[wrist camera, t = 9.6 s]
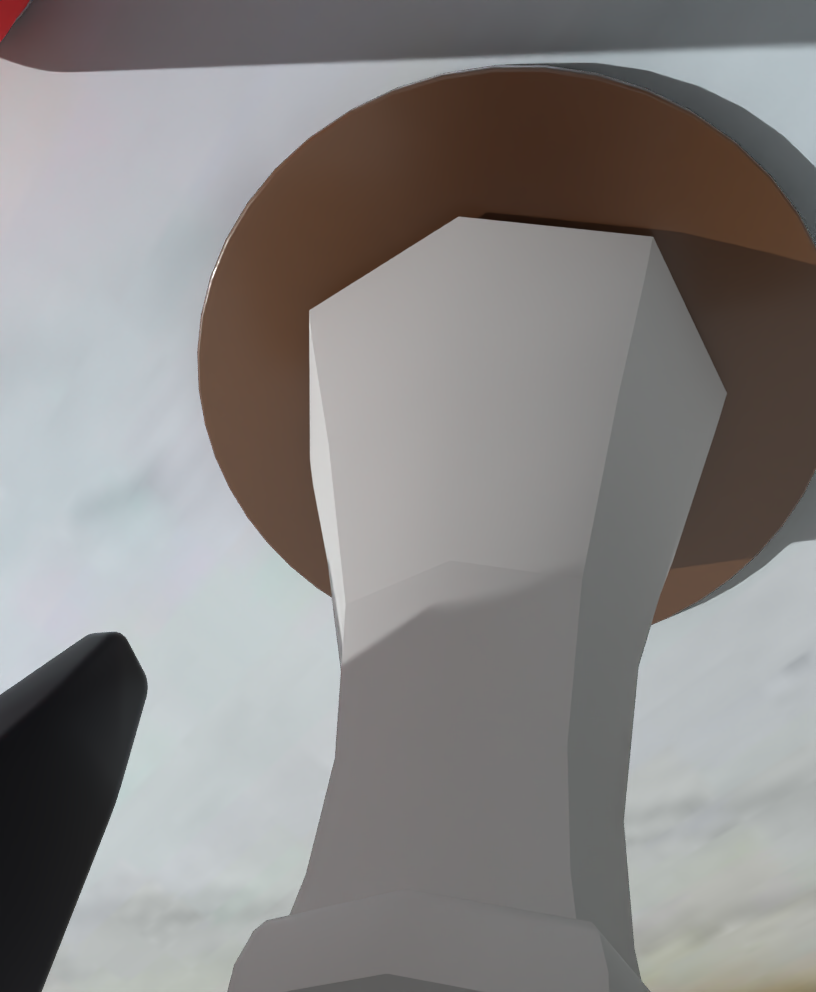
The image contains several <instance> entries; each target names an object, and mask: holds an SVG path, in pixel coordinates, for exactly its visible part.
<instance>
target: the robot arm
mask: <svg viewBox="0 0 816 992" xmlns="http://www.w3.org/2000/svg"><path fill="white" fill-rule="evenodd" d="M147 689H148V685H147V678H146V675H145V673H144V671H143V669H142V667H141V665H140V663H139V661H138V660H137V658H136V656H135V654H134V652H133V650H132V648H131V646H130V644H129V643H128V641H127V639H126V638H125V637H124V636H123V635H122V634H121V633H118V632H104V633H93V634H89V635H87V636H85V637H84V638H82V639H81V640H79V641H78V642H76V643H75V644H74V645H72V646H71V647H69V648H68V649H66V650H65V651H63V652H62V653H60V654H59V655H58V656H56V657H55V658H53V659H52V660H50V661H49V662H47V663H46V664H44V665H43V666H42V667H40V668H39V669H37V670H36V671H34V672H33V673H31V674H30V675H28V676H27V677H26V678H24V679H23V680H21V681H20V682H18V683H17V684H15V685H14V686H12V687H11V688H10V689H8V690H7V691H5V692H4V693H2V694H1V695H0V992H42V989H43V987H44V984H45V982H46V979H47V977H48V974H49V972H50V969H51V966H52V964H53V961H54V959H55V956H56V954H57V951H58V949H59V946H60V944H61V941H62V939H63V936H64V933H65V931H66V928H67V926H68V923H69V921H70V918H71V916H72V913H73V911H74V908H75V906H76V903H77V901H78V898H79V895H80V893H81V890H82V888H83V885H84V883H85V880H86V878H87V875H88V873H89V870H90V868H91V865H92V862H93V860H94V857H95V855H96V852H97V850H98V847H99V845H100V842H101V840H102V837H103V835H104V832H105V830H106V827H107V824H108V822H109V819H110V817H111V814H112V811H113V808H114V806H115V803H116V800H117V797H118V793H119V790H120V787H121V784H122V781H123V777H124V774H125V770H126V766H127V763H128V759H129V756H130V752H131V749H132V745H133V742H134V738H135V735H136V731H137V728H138V724H139V721H140V717H141V714H142V710H143V707H144V703H145V700H146V696H147Z"/></svg>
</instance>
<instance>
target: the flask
mask: <svg viewBox="0 0 816 992" xmlns="http://www.w3.org/2000/svg"><path fill="white" fill-rule="evenodd" d="M309 367H310V464H311V472H312V480H313V487H314V493H315V498H316V503H317V508H318V514H319V519H320V524H321V530H322V535H323V540H324V545H325V551H326V556H327V562H328V570H329V578H330V586H331V594H332V602H333V610H334V618H335V627H336V635H337V643H338V651H339V659H340V667H341V679H340V693H339V708H338V722H337V737H336V751H335V760H334V764H333V768H332V772H331V776H330V780H329V784H328V788H327V792H326V796H325V800H324V804H323V808H322V812H321V816H320V820H319V824H318V828H317V832H316V836H315V840H314V844H313V848H312V852H311V856H310V860H309V864H308V868H307V872H306V875H305V878H304V880H303V883H302V885H301V888H300V890H299V893H298V895H297V898H296V900H295V903H294V905H293V908H292V910H291V913H290V915H289V916H284V917H280V918H275V919H271V920H267V921H265V922H264V923H263V924H262V925H260V926H259V927H258V928H257V929H255V930H254V931H253V933H252V935H251V936H250V938H249V940H248V942H247V943H246V945H245V947H244V949H243V950H242V952H241V954H240V956H239V957H238V959H237V961H236V963H235V964H234V968H233V972H232V976H231V979H230V983H229V987H228V991H227V992H650V990H649V989H648V988H647V987H646V986H645V985H644V983H643V982H642V981H641V977H640V972H639V967H638V963H637V958H636V954H635V949H634V939H633V927H632V915H631V903H630V891H629V879H628V868H627V856H626V844H625V832H624V812H625V801H626V791H627V781H628V770H629V760H630V749H631V739H632V729H633V718H634V708H635V697H636V687H637V676H638V666H639V663H640V660H641V657H642V653H643V650H644V647H645V643H646V640H647V637H648V633H649V630H650V627H651V623H652V620H653V617H654V613H655V610H656V607H657V603H658V600H659V597H660V594H661V591H662V588H663V586H664V583H665V580H666V578H667V575H668V572H669V570H670V567H671V564H672V562H673V559H674V556H675V553H676V550H677V547H678V544H679V541H680V538H681V535H682V532H683V528H684V525H685V522H686V519H687V516H688V513H689V510H690V507H691V504H692V501H693V498H694V495H695V492H696V489H697V486H698V483H699V480H700V476H701V473H702V470H703V467H704V464H705V461H706V458H707V455H708V452H709V449H710V446H711V443H712V440H713V437H714V434H715V431H716V427H717V424H718V421H719V418H720V415H721V411H722V408H723V405H724V401H725V398H726V395H727V392H726V390H725V388H724V386H723V384H722V382H721V379H720V377H719V375H718V373H717V371H716V369H715V367H714V365H713V362H712V360H711V358H710V356H709V354H708V352H707V350H706V348H705V346H704V343H703V341H702V339H701V337H700V335H699V333H698V331H697V329H696V326H695V324H694V322H693V320H692V318H691V316H690V314H689V312H688V309H687V307H686V305H685V303H684V301H683V299H682V297H681V295H680V293H679V290H678V288H677V286H676V284H675V282H674V280H673V278H672V276H671V273H670V271H669V269H668V267H667V265H666V263H665V261H664V259H663V257H662V254H661V252H660V250H659V248H658V246H657V244H656V242H655V240H654V237H651V236H641V235H632V234H622V233H612V232H603V231H593V230H583V229H574V228H564V227H554V226H545V225H535V224H525V223H516V222H506V221H497V220H487V219H477V218H468V217H457V218H455V219H454V220H452V221H451V222H449V223H448V224H446V225H444V226H443V227H441V228H440V229H438V230H436V231H435V232H433V233H432V234H430V235H428V236H427V237H425V238H424V239H422V240H420V241H419V242H417V243H416V244H414V245H412V246H411V247H409V248H408V249H406V250H405V251H403V252H401V253H400V254H398V255H397V256H395V257H393V258H392V259H390V260H389V261H387V262H385V263H384V264H382V265H381V266H379V267H377V268H376V269H374V270H373V271H371V272H370V273H368V274H366V275H365V276H363V277H362V278H360V279H358V280H357V281H355V282H354V283H352V284H350V285H349V286H347V287H346V288H344V289H342V290H341V291H339V292H338V293H336V294H334V295H333V296H331V297H330V298H328V299H327V300H325V301H323V302H322V303H320V304H319V305H317V306H315V307H314V308H312V309H311V310H309Z"/></svg>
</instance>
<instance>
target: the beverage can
mask: <svg viewBox="0 0 816 992" xmlns="http://www.w3.org/2000/svg"><path fill="white" fill-rule="evenodd" d="M31 2H32V0H0V42H1V41H2V40H3V38H4V37H5V36H6V34H7V33H8V31H9V30H10V28H11V27H12V25H13V24H14V23H15V22H16V21H17V20H18V19H19V18H20V17H21V16H22V15H23V13H24V12H25V11H26V10H27V8H28V7H29V5H30V4H31Z"/></svg>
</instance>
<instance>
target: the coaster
mask: <svg viewBox="0 0 816 992" xmlns="http://www.w3.org/2000/svg"><path fill="white" fill-rule="evenodd" d="M457 217H468V218H477V219H487V220H497V221H506V222H516V223H525V224H535V225H545V226H554V227H564V228H574V229H583V230H593V231H603V232H612V233H622V234H632V235H641V236H651V237H654V240H655V242H656V244H657V246H658V248H659V250H660V252H661V254H662V257H663V259H664V261H665V263H666V265H667V267H668V269H669V271H670V273H671V276H672V278H673V280H674V282H675V284H676V286H677V288H678V290H679V293H680V295H681V297H682V299H683V301H684V303H685V305H686V307H687V309H688V312H689V314H690V316H691V318H692V320H693V322H694V324H695V326H696V329H697V331H698V333H699V335H700V337H701V339H702V341H703V343H704V346H705V348H706V350H707V352H708V354H709V356H710V358H711V360H712V362H713V365H714V367H715V369H716V371H717V373H718V375H719V377H720V379H721V382H722V384H723V386H724V388H725V390H726V392H727V395H726V398H725V401H724V405H723V408H722V411H721V415H720V418H719V421H718V424H717V427H716V431H715V434H714V437H713V440H712V443H711V446H710V449H709V452H708V455H707V458H706V461H705V464H704V467H703V470H702V473H701V476H700V480H699V483H698V486H697V489H696V492H695V495H694V498H693V501H692V504H691V507H690V510H689V513H688V516H687V519H686V522H685V525H684V528H683V532H682V535H681V538H680V541H679V544H678V547H677V550H676V553H675V556H674V559H673V562H672V564H671V567H670V570H669V572H668V575H667V578H666V580H665V583H664V586H663V588H662V591H661V594H660V597H659V600H658V603H657V607H656V610H655V613H654V617H653V620H652V623H651V625H653V624H655V623H657V622H660V621H662V620H664V619H667V618H669V617H671V616H673V615H675V614H676V613H678V612H680V611H682V610H684V609H685V608H687V607H689V606H691V605H693V604H695V603H696V602H698V601H700V600H702V599H703V598H704V597H706V596H707V595H709V594H710V593H711V592H713V591H714V590H716V589H717V588H719V587H720V586H721V585H723V584H724V583H726V582H727V581H728V580H730V579H731V578H732V577H733V576H734V575H736V574H737V573H738V572H739V571H740V570H741V569H742V568H743V567H744V566H746V565H747V564H748V563H749V562H750V561H751V560H752V559H753V558H754V557H756V556H757V555H758V554H759V553H760V551H761V550H762V549H763V548H764V547H765V546H766V545H767V543H768V542H769V541H770V540H771V539H772V538H773V537H774V535H775V534H776V533H777V532H778V531H779V530H780V529H781V527H782V526H783V525H784V523H785V522H786V520H787V519H788V517H789V516H790V514H791V513H792V511H793V510H794V508H795V507H796V505H797V504H798V502H799V501H800V499H801V498H802V496H803V495H804V493H805V491H806V489H807V487H808V485H809V483H810V481H811V478H812V476H813V474H814V472H815V470H816V245H815V243H814V242H813V240H812V238H811V236H810V234H809V232H808V230H807V228H806V226H805V224H804V222H803V220H802V218H801V216H800V214H799V213H798V211H797V210H796V209H795V207H794V206H793V205H792V203H791V202H790V201H789V199H788V198H787V197H786V195H785V194H784V193H783V191H782V190H781V189H780V187H779V186H778V185H777V183H776V182H775V181H774V179H773V178H772V177H771V175H770V174H769V173H768V172H767V171H766V170H764V169H763V168H762V167H761V166H760V165H759V164H758V163H757V162H756V161H755V160H754V159H753V158H752V157H751V156H750V155H749V154H748V153H747V152H746V151H745V150H744V149H743V148H742V147H741V146H740V145H739V144H738V143H737V142H736V141H734V140H733V139H731V138H730V137H729V136H727V135H726V134H724V133H723V132H721V131H720V130H718V129H717V128H716V127H714V126H713V125H711V124H710V123H708V122H707V121H706V120H704V119H703V118H701V117H700V116H698V115H697V114H696V113H694V112H693V111H691V110H690V109H688V108H686V107H684V106H682V105H679V104H677V103H675V102H673V101H671V100H669V99H667V98H665V97H663V96H661V95H659V94H657V93H655V92H653V91H651V90H649V89H647V88H644V87H641V86H638V85H635V84H631V83H628V82H625V81H622V80H618V79H615V78H612V77H608V76H605V75H602V74H599V73H595V72H588V71H581V70H574V69H568V68H561V67H554V66H547V65H494V66H487V67H481V68H474V69H468V70H461V71H455V72H448V73H443V74H440V75H436V76H433V77H430V78H427V79H423V80H420V81H417V82H414V83H410V84H407V85H404V86H401V87H397V88H395V89H393V90H391V91H389V92H387V93H385V94H383V95H381V96H379V97H376V98H374V99H372V100H370V101H368V102H366V103H364V104H362V105H360V106H358V107H355V108H353V109H352V110H350V111H348V112H347V113H345V114H344V115H342V116H341V117H339V118H338V119H336V120H335V121H333V122H332V123H331V124H329V125H328V126H326V127H325V128H323V129H322V130H320V131H319V132H317V133H316V134H314V135H313V136H311V137H310V138H308V139H307V140H306V141H305V142H304V143H303V144H302V145H301V146H300V147H299V148H297V149H296V150H295V151H294V152H293V153H292V154H291V155H290V156H289V157H288V158H287V159H285V160H284V161H283V162H282V163H281V164H280V165H279V166H278V167H277V168H276V169H275V170H274V171H273V172H272V173H271V175H270V176H269V177H268V178H267V180H266V181H265V182H264V183H263V184H262V186H261V187H260V188H259V189H258V191H257V192H256V193H255V194H254V196H253V197H252V198H251V199H250V200H249V202H248V203H247V205H246V206H245V208H244V210H243V211H242V213H241V215H240V216H239V218H238V220H237V221H236V223H235V225H234V226H233V228H232V230H231V232H230V233H229V235H228V237H227V238H226V240H225V243H224V245H223V248H222V250H221V252H220V255H219V257H218V260H217V262H216V265H215V267H214V270H213V272H212V274H211V277H210V281H209V285H208V289H207V293H206V297H205V301H204V305H203V309H202V313H201V321H200V331H199V341H198V351H197V354H198V380H199V393H200V399H201V404H202V410H203V416H204V421H205V426H206V429H207V432H208V435H209V439H210V442H211V445H212V448H213V451H214V455H215V458H216V460H217V462H218V464H219V466H220V469H221V471H222V473H223V475H224V477H225V479H226V482H227V484H228V486H229V488H230V490H231V491H232V493H233V495H234V496H235V498H236V500H237V501H238V503H239V504H240V506H241V508H242V509H243V511H244V513H245V514H246V516H247V517H248V519H249V520H250V521H251V522H252V524H253V525H254V526H255V528H256V529H257V530H258V531H259V533H260V534H261V535H262V536H263V538H264V539H265V540H266V542H267V543H268V544H269V545H270V546H271V547H272V548H273V549H274V550H275V551H276V552H277V553H278V554H279V555H280V556H281V557H282V558H283V559H284V560H285V561H286V562H287V563H288V564H289V565H290V566H291V567H292V568H293V569H294V570H296V571H297V572H298V573H299V574H301V575H302V576H303V577H304V578H305V579H307V580H308V581H309V582H310V583H312V584H313V585H314V586H315V587H316V588H318V589H320V590H321V591H323V592H324V593H326V594H327V595H329V596H330V597H332V594H331V586H330V578H329V570H328V562H327V556H326V551H325V545H324V540H323V535H322V530H321V524H320V519H319V514H318V508H317V503H316V498H315V493H314V487H313V480H312V472H311V464H310V367H309V310H311V309H312V308H314V307H315V306H317V305H319V304H320V303H322V302H323V301H325V300H327V299H328V298H330V297H331V296H333V295H334V294H336V293H338V292H339V291H341V290H342V289H344V288H346V287H347V286H349V285H350V284H352V283H354V282H355V281H357V280H358V279H360V278H362V277H363V276H365V275H366V274H368V273H370V272H371V271H373V270H374V269H376V268H377V267H379V266H381V265H382V264H384V263H385V262H387V261H389V260H390V259H392V258H393V257H395V256H397V255H398V254H400V253H401V252H403V251H405V250H406V249H408V248H409V247H411V246H412V245H414V244H416V243H417V242H419V241H420V240H422V239H424V238H425V237H427V236H428V235H430V234H432V233H433V232H435V231H436V230H438V229H440V228H441V227H443V226H444V225H446V224H448V223H449V222H451V221H452V220H454V219H455V218H457Z"/></svg>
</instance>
